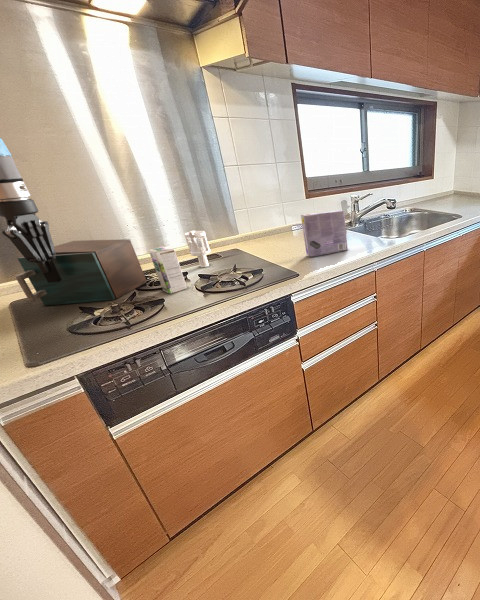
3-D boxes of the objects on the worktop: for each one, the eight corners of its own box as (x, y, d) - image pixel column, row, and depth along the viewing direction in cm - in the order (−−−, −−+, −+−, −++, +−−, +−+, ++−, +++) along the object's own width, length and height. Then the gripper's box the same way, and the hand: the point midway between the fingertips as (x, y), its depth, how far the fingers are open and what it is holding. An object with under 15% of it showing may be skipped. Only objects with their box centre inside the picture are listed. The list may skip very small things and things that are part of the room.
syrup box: (162, 290, 111) (146, 249, 104) (180, 284, 115) (166, 245, 109) (169, 294, 108) (154, 252, 101) (188, 288, 112) (174, 247, 106)
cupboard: (116, 298, 106) (95, 251, 99) (57, 299, 106) (31, 253, 99) (147, 282, 118) (130, 239, 111) (94, 283, 119) (73, 240, 112)
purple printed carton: (346, 247, 151) (341, 208, 144) (350, 249, 147) (346, 210, 140) (306, 255, 142) (299, 214, 134) (309, 258, 138) (303, 216, 130)
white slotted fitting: (192, 269, 129) (179, 232, 123) (199, 264, 135) (187, 228, 129) (210, 268, 130) (199, 231, 124) (216, 262, 136) (206, 227, 130)
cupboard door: (102, 306, 100) (79, 258, 93) (29, 313, 97) (0, 263, 91) (115, 298, 106) (94, 252, 99) (46, 304, 103) (20, 257, 96)
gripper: (9, 202, 81) (54, 288, 91) (46, 195, 93) (83, 272, 103) (-28, 204, 80) (22, 291, 90) (15, 197, 91) (55, 275, 101)
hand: (55, 281), depth 96 cm, fingers closed
